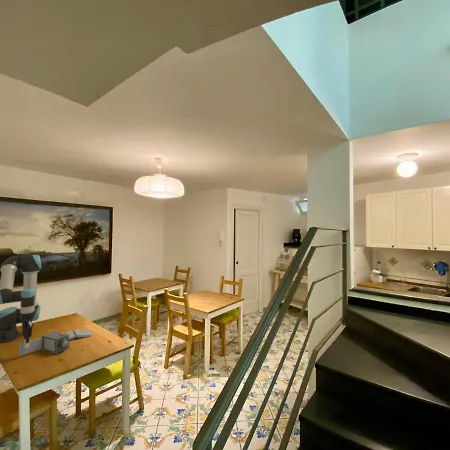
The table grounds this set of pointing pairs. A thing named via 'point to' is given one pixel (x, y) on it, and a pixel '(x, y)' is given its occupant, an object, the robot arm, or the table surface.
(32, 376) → the table surface
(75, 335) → the gadget
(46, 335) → the cam body
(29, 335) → the robot arm
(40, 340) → the door
